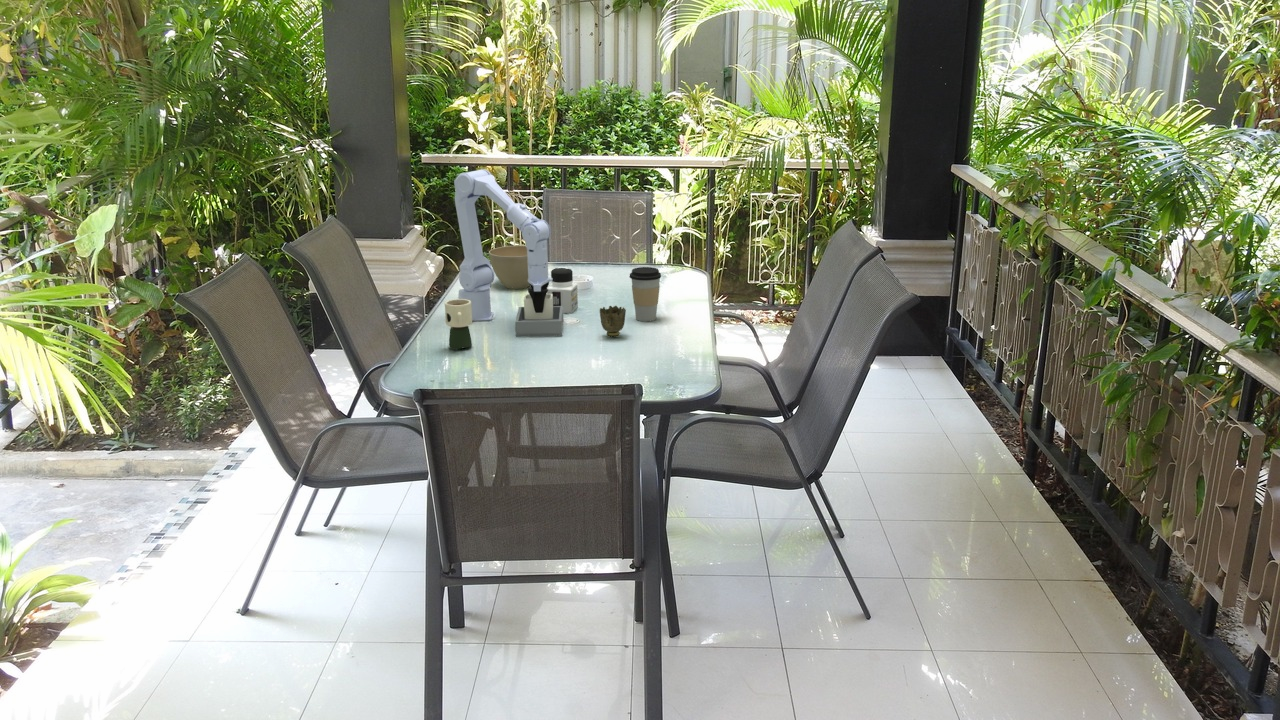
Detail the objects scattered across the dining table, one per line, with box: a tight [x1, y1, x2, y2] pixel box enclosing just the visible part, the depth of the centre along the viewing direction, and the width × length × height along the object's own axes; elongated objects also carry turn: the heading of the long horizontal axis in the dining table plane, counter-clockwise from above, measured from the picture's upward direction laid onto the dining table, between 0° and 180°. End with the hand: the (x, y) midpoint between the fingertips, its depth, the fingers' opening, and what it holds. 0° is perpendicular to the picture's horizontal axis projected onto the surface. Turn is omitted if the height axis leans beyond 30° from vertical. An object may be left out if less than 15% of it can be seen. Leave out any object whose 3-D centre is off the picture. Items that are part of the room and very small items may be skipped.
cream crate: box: [523, 293, 553, 319], centre depth 308 cm, size 8×5×6 cm
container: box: [547, 267, 579, 314], centre depth 328 cm, size 8×8×13 cm
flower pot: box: [488, 245, 530, 290], centre depth 357 cm, size 18×18×12 cm
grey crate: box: [514, 306, 564, 338], centre depth 310 cm, size 13×16×4 cm
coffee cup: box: [629, 266, 662, 323], centre depth 317 cm, size 9×9×15 cm
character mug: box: [444, 298, 473, 350], centre depth 292 cm, size 11×7×13 cm, turn 13°
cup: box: [599, 305, 627, 338], centre depth 301 cm, size 8×7×8 cm
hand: (539, 309), depth 309 cm, fingers closed on cream crate, 5 cm apart
